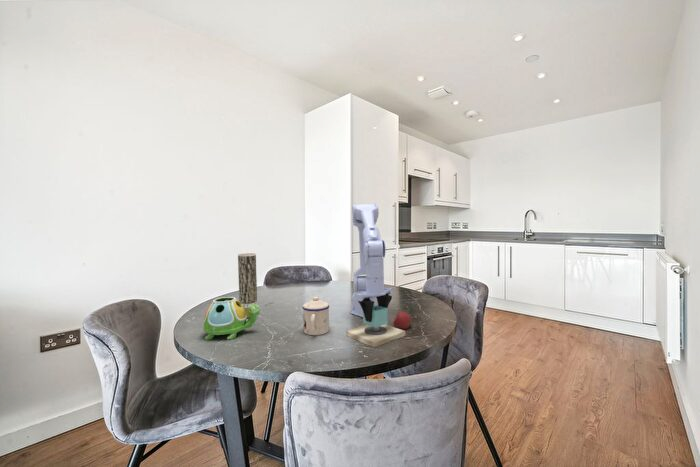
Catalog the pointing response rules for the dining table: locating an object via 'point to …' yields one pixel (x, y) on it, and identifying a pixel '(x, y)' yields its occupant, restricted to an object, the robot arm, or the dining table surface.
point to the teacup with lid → (316, 317)
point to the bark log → (247, 280)
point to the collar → (377, 317)
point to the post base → (375, 334)
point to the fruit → (402, 320)
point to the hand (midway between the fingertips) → (375, 319)
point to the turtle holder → (228, 317)
